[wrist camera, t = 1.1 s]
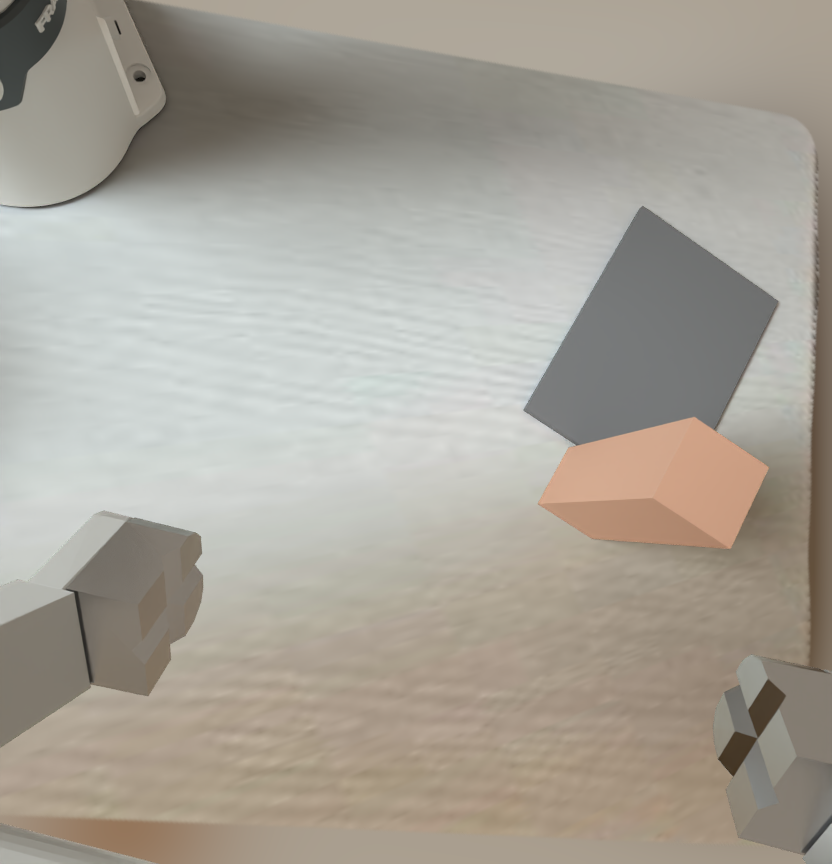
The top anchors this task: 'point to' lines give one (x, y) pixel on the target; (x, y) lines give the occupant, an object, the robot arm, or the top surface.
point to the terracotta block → (657, 486)
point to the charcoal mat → (652, 339)
